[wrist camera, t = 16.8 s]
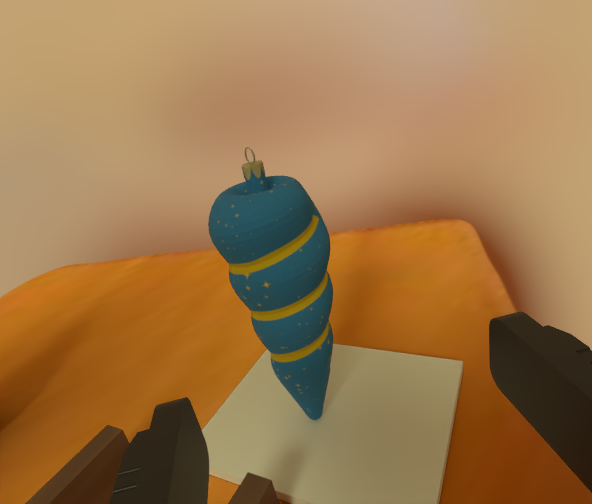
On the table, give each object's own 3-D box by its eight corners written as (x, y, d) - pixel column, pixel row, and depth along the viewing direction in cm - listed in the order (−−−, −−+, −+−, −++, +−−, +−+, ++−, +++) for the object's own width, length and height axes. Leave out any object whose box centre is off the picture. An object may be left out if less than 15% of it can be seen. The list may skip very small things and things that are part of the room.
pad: (183, 465, 22) (180, 457, 22) (279, 342, 31) (277, 335, 31) (430, 553, 16) (428, 544, 16) (463, 369, 25) (462, 361, 25)
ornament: (306, 474, 20) (223, 167, 14) (251, 418, 24) (169, 162, 18) (379, 411, 22) (335, 131, 16) (318, 371, 26) (266, 134, 20)
